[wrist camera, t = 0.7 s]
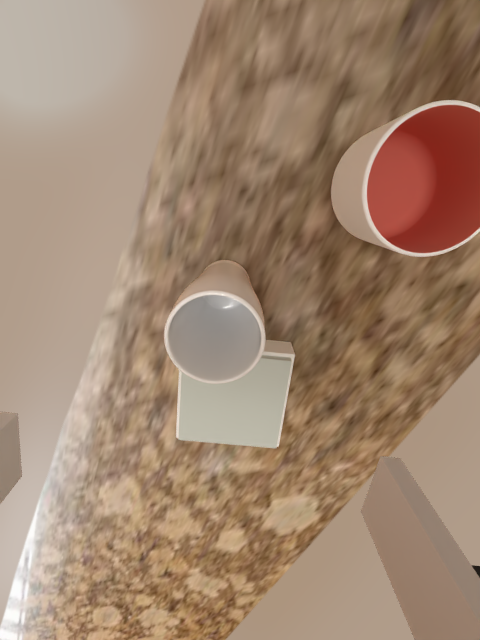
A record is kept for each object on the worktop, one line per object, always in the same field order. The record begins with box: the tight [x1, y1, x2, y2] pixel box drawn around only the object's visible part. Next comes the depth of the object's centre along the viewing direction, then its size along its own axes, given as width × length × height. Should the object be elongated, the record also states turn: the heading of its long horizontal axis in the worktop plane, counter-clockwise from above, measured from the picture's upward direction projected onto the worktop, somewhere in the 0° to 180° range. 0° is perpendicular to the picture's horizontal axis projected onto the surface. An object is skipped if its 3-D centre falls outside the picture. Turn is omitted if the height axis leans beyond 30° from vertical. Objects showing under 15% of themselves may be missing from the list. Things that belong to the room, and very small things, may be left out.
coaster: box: [176, 340, 295, 448], centre depth 38 cm, size 12×12×4 cm
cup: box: [331, 100, 480, 257], centre depth 28 cm, size 10×10×10 cm
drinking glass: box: [164, 260, 266, 384], centre depth 29 cm, size 7×7×15 cm
